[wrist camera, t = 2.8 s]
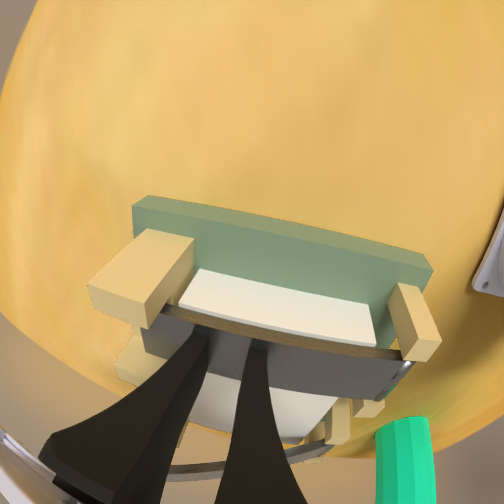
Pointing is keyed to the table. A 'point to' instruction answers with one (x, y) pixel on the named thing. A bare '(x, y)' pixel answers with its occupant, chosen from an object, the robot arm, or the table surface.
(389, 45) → the table surface
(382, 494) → the candle
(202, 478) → the strap far
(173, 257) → the board
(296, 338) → the strap near
